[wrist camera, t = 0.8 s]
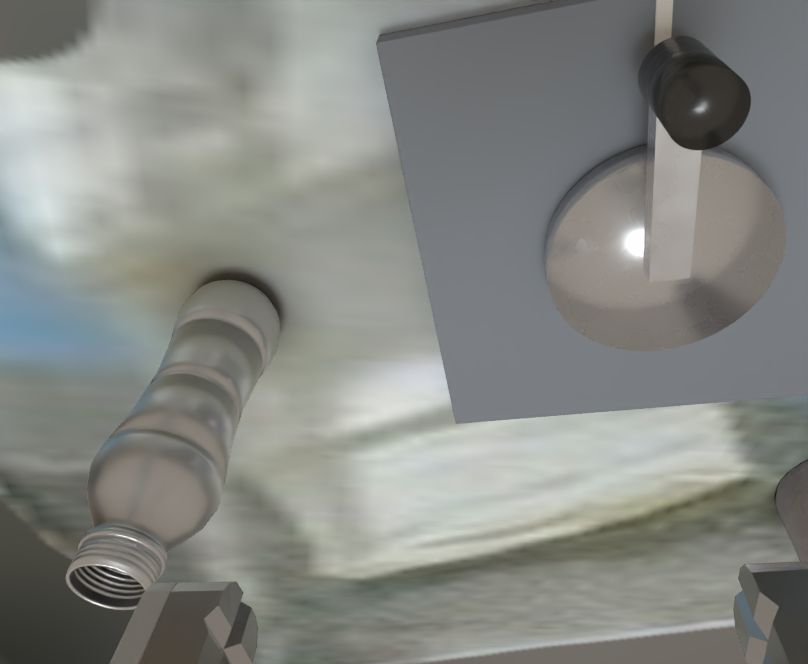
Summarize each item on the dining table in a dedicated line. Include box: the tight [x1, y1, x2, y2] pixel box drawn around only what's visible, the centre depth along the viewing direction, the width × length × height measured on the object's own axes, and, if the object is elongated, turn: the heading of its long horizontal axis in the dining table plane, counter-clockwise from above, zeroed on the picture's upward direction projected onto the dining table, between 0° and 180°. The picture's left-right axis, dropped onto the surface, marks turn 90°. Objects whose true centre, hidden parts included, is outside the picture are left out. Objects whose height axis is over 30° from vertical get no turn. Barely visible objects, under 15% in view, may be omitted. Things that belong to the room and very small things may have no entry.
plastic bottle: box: [66, 280, 280, 610], centre depth 35 cm, size 6×7×20 cm
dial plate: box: [376, 0, 808, 424], centre depth 36 cm, size 26×26×2 cm
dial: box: [544, 36, 786, 351], centre depth 31 cm, size 18×12×7 cm
